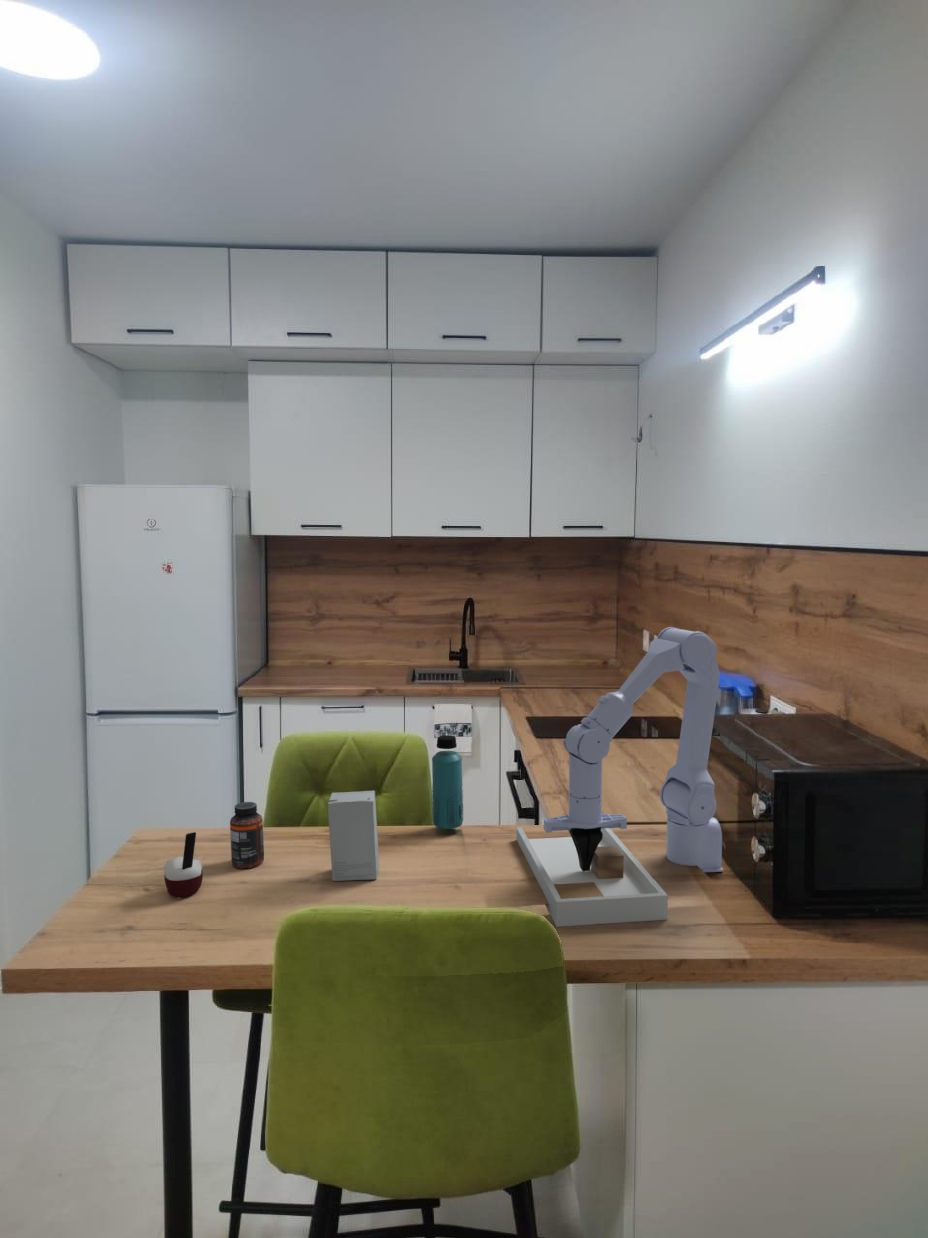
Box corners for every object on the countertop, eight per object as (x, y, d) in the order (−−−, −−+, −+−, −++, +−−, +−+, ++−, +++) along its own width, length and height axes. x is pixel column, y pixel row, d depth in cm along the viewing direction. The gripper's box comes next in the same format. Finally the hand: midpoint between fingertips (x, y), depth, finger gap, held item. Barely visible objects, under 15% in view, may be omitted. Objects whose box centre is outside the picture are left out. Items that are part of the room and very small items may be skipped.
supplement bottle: (258, 855, 153) (256, 797, 152) (268, 865, 148) (267, 806, 147) (227, 861, 150) (225, 803, 149) (237, 872, 145) (235, 812, 144)
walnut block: (615, 867, 143) (615, 846, 142) (623, 877, 138) (623, 855, 138) (591, 868, 142) (591, 847, 142) (598, 879, 138) (598, 857, 137)
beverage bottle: (463, 836, 162) (462, 740, 161) (430, 836, 163) (430, 740, 161) (463, 825, 169) (463, 732, 167) (432, 825, 169) (431, 732, 167)
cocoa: (167, 888, 140) (162, 821, 139) (205, 882, 141) (200, 816, 141) (162, 909, 130) (157, 837, 130) (202, 903, 132) (197, 832, 131)
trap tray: (605, 842, 159) (605, 823, 158) (667, 919, 126) (667, 895, 126) (516, 847, 156) (516, 827, 156) (556, 926, 124) (556, 902, 123)
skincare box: (379, 868, 147) (377, 789, 145) (376, 881, 141) (375, 800, 139) (333, 868, 146) (331, 790, 145) (329, 882, 140) (327, 801, 139)
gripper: (618, 785, 144) (617, 857, 145) (539, 788, 142) (539, 862, 144) (631, 797, 137) (629, 873, 138) (548, 801, 135) (548, 878, 137)
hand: (584, 868), depth 141 cm, fingers closed
